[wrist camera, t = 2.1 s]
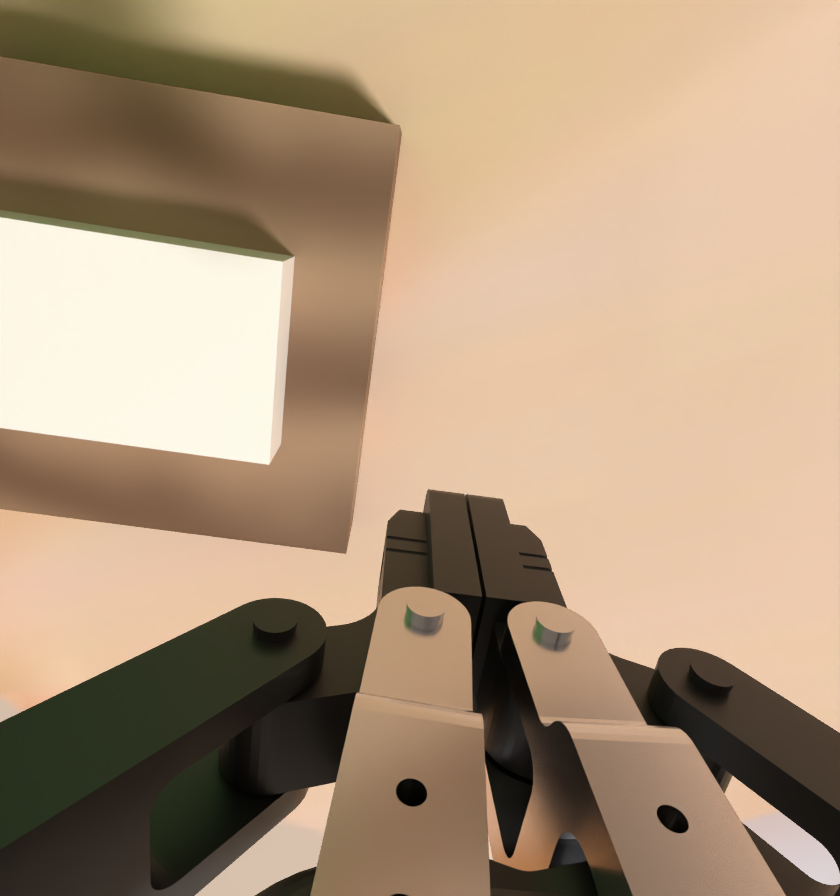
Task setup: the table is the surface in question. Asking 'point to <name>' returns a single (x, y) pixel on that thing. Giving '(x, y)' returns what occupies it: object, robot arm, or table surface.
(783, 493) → the table surface
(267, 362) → the tile
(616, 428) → the table surface
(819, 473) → the table surface
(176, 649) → the robot arm
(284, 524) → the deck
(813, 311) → the table surface
